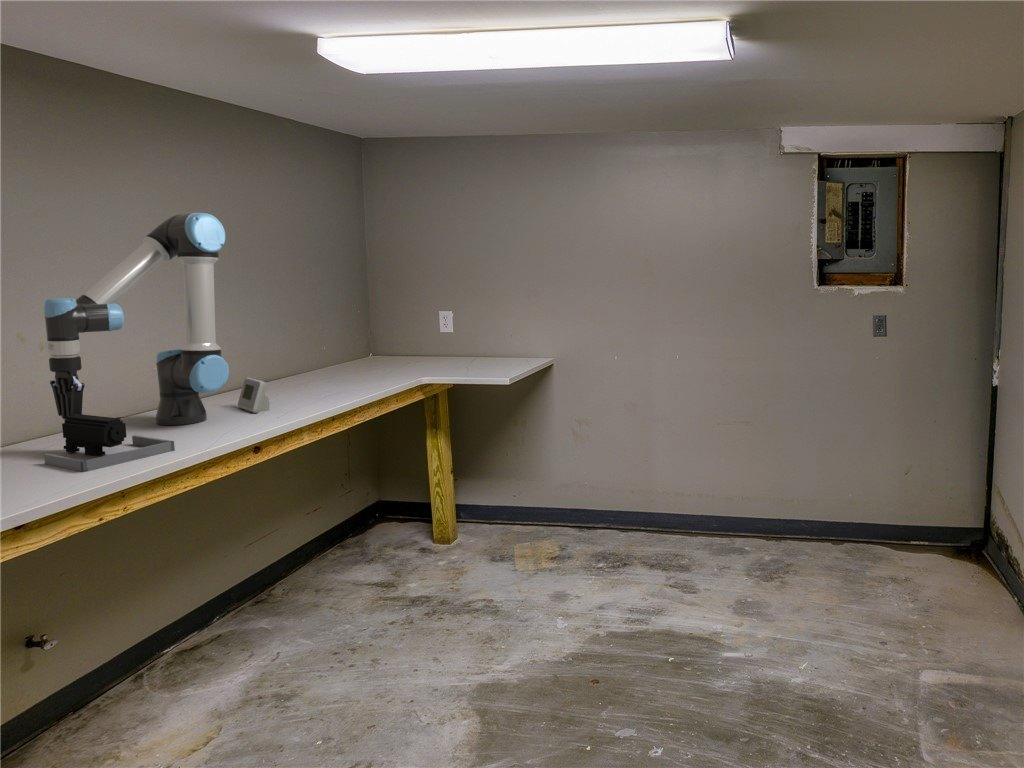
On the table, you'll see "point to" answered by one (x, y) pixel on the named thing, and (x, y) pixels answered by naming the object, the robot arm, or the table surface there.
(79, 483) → the table surface
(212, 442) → the table surface
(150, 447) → the grey u-shaped frame
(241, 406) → the digital clock
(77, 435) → the security camera
